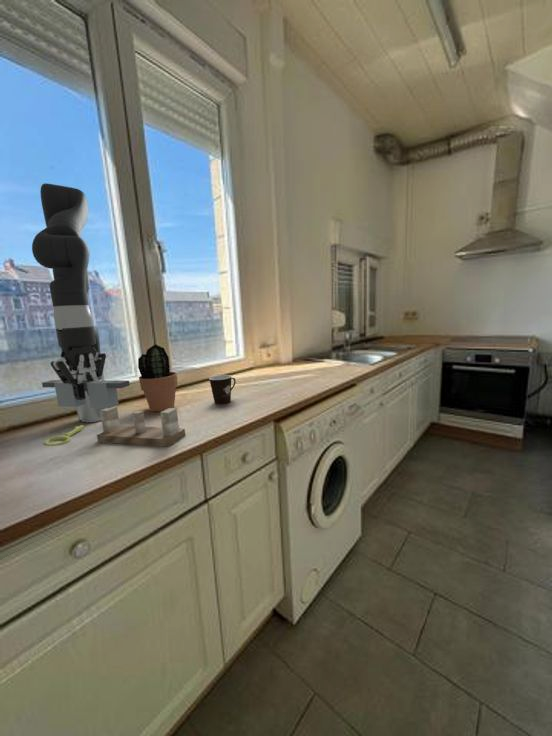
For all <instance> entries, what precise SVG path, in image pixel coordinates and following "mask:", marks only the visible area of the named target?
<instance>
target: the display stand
mask: <svg viewBox="0 0 552 736" xmlns="http://www.w3.org/2000/svg"><path fill="white" fill-rule="evenodd" d="M100 414H101V420H100V421H101V424H102V425H101V426H102V432H100V433H98V434H96V439H97V443H98V442H99V443H114V444H115V443H116V444H130V445H144V446H155V445H157V446H156V447H170V445H171V444H172V445H174V444H175V443H176V442H178V441H179V440H181V439H182V438H183V437H185V436H186V430H185V428H182V427H181V428H180V427H179V418H178V410H177V408H176V407H175V408H174V407H173V408H168V409H166V410H164V411H160V418H161V419H160V420H161V426H162V427H159V426H158V427H157V426H146V422H145V414H144V410H137V411H135V412H132V417H133V424H134V426H133V425H121V423H120V417H119V410H118V406H114V407H112V408H105V409H103V410H100ZM177 440H178V441H177ZM174 442H175V443H174ZM172 445H171V446H172Z"/></svg>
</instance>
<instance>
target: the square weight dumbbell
mask: <svg viewBox="0 0 552 736" xmlns="http://www.w3.org/2000/svg"><path fill="white" fill-rule="evenodd" d="M82 384H83V387H84V391H88V394H89V400H90V406H91V408H112V407H118V406H119V405H120V404H119V397H118V391H117V389H123V388H127V387H129V386H130V380H118V379H117V380H114V379H113V380H111V379H109V380H106V379H104V380H82ZM41 385H42V388H54V389H55V393H56V394H55V395H56V400H57V405H58V407H63V408H65V407H66V408H67V407H69V408H77V407H78V406H81V405H84V404H86V400H85V399H83V400H77V399H76V398H75V397H74V392H73V387H72V385H71V384H65V383H63V382H62V381H61V379H52V380H48V381H47V380H46V381H44V382H41Z"/></svg>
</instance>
